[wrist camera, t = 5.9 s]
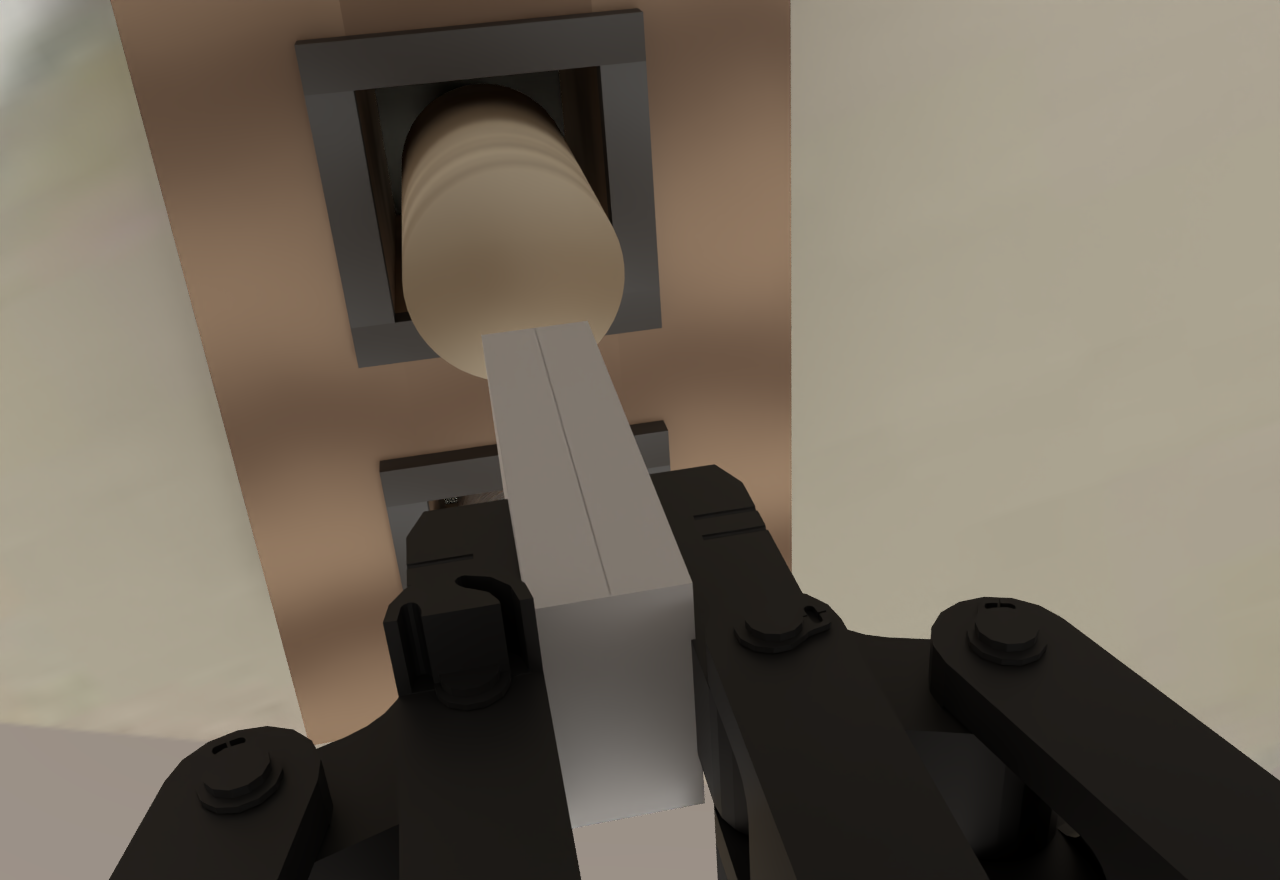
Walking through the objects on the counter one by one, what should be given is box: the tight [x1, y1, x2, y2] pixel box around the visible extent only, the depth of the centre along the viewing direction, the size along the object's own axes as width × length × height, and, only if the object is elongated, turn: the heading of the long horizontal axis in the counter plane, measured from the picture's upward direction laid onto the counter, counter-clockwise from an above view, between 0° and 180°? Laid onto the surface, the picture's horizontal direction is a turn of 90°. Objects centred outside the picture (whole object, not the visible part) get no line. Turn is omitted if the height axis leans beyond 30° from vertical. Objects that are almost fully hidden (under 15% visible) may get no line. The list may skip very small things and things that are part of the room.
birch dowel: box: [402, 84, 625, 379], centre depth 24 cm, size 4×4×8 cm
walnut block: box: [111, 0, 792, 745], centre depth 31 cm, size 20×14×9 cm
